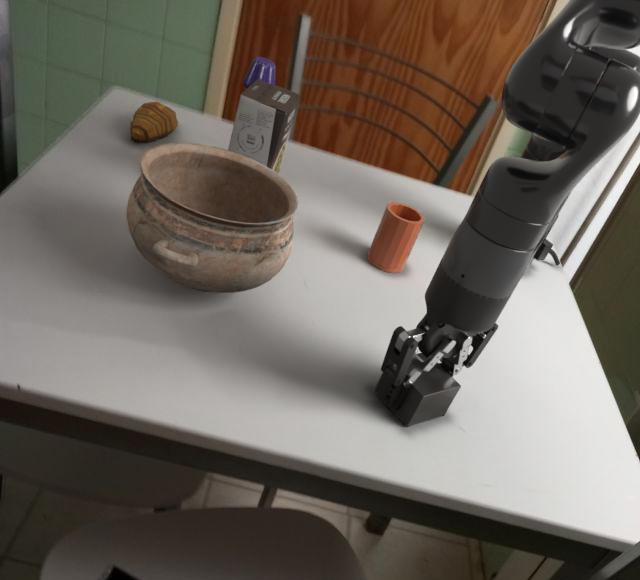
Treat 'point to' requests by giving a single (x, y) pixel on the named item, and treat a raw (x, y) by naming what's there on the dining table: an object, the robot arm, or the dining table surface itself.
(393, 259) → the cup
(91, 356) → the dining table surface
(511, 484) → the dining table surface
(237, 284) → the cooking pot
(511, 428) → the dining table surface
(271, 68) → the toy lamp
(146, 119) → the croissant
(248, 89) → the coffee box
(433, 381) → the block
